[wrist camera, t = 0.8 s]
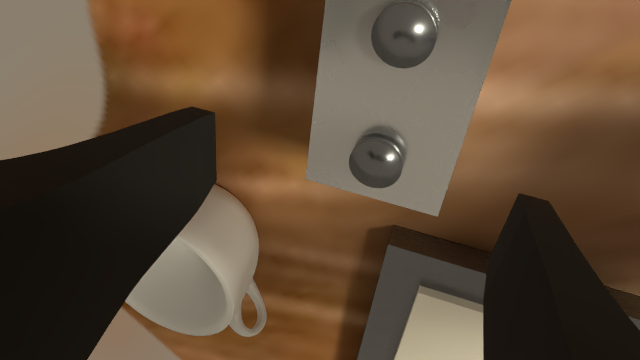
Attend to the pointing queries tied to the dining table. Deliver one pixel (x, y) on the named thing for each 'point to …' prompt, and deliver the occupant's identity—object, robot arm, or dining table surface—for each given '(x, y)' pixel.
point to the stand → (435, 301)
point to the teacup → (205, 273)
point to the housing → (398, 94)
